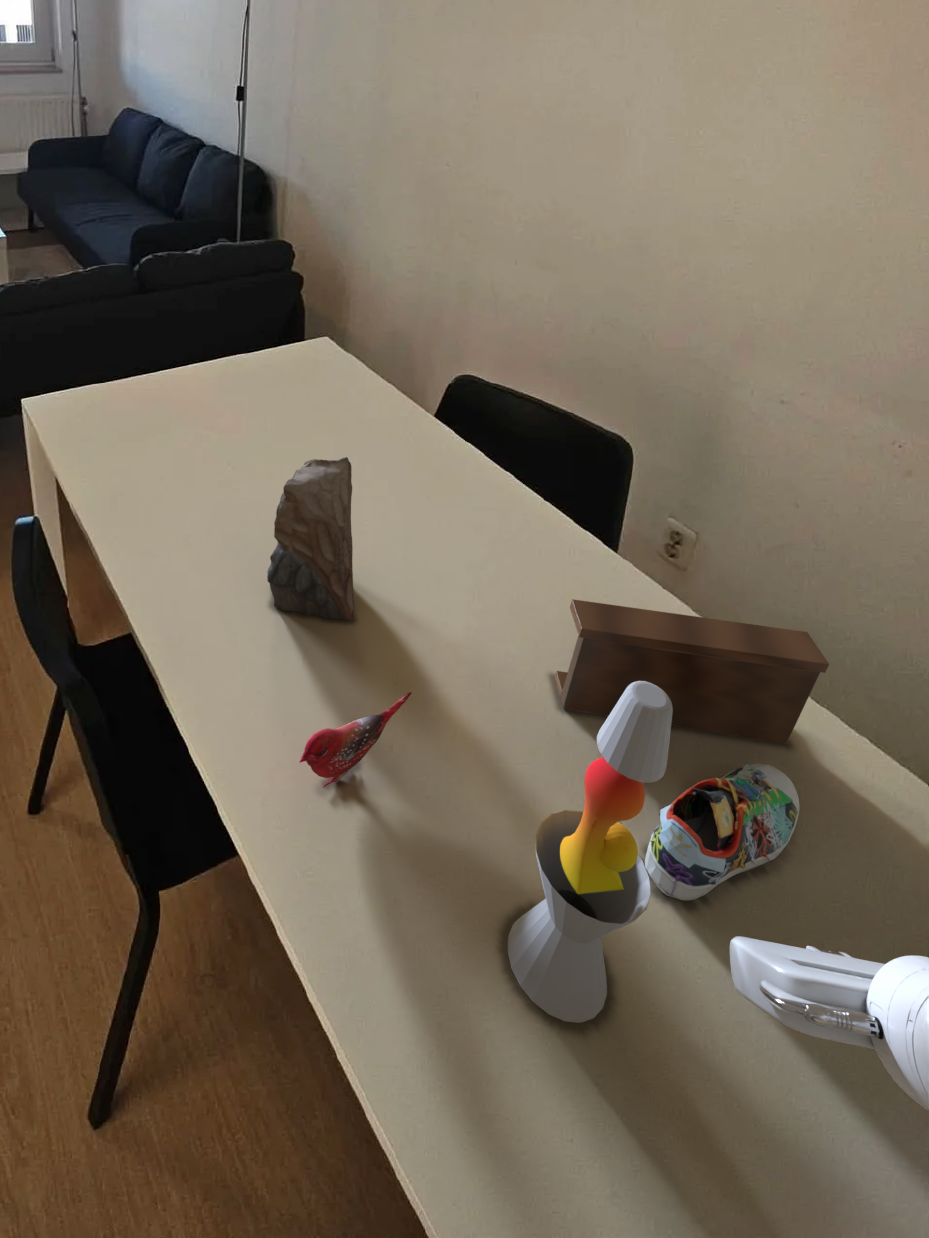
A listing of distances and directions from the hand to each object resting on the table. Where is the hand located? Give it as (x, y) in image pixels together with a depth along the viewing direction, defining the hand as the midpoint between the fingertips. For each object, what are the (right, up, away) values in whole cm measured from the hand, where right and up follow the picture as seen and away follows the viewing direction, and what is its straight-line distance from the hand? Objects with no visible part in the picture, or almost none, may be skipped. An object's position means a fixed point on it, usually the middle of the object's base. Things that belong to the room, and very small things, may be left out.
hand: (824, 960), depth 64 cm
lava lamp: (-20, -6, +6) cm, 22 cm away
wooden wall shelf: (+5, +4, +32) cm, 32 cm away
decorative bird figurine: (-36, +2, +24) cm, 43 cm away
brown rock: (-38, +13, +48) cm, 62 cm away
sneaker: (+2, -2, +17) cm, 18 cm away
